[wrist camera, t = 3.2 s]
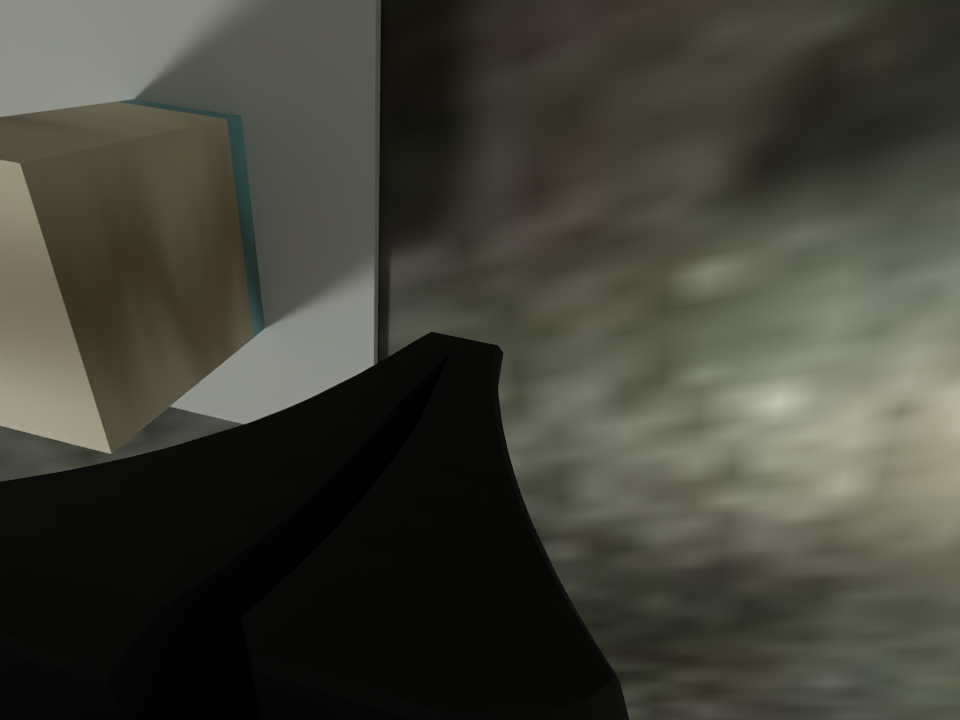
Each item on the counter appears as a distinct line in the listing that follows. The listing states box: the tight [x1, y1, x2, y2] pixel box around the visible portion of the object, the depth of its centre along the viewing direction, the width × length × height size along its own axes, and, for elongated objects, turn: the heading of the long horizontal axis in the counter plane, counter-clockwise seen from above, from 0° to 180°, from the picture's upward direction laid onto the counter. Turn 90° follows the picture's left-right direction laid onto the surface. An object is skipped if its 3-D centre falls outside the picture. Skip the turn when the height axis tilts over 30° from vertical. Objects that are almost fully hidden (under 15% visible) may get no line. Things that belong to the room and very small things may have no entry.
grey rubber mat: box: [0, 0, 381, 424], centre depth 16 cm, size 14×14×1 cm
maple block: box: [0, 99, 265, 454], centre depth 13 cm, size 6×3×6 cm, turn 174°
